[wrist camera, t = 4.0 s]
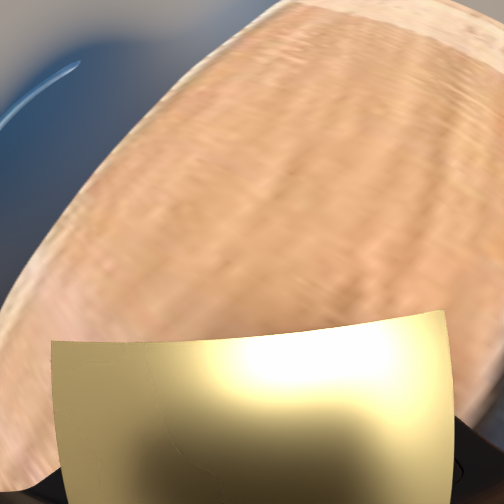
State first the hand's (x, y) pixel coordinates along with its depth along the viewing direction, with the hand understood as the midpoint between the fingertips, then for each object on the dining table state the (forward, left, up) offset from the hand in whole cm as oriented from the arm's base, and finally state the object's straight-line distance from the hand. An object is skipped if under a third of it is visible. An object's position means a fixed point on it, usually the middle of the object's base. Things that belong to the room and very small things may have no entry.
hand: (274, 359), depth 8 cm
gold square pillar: (-1, -1, -7) cm, 7 cm away
